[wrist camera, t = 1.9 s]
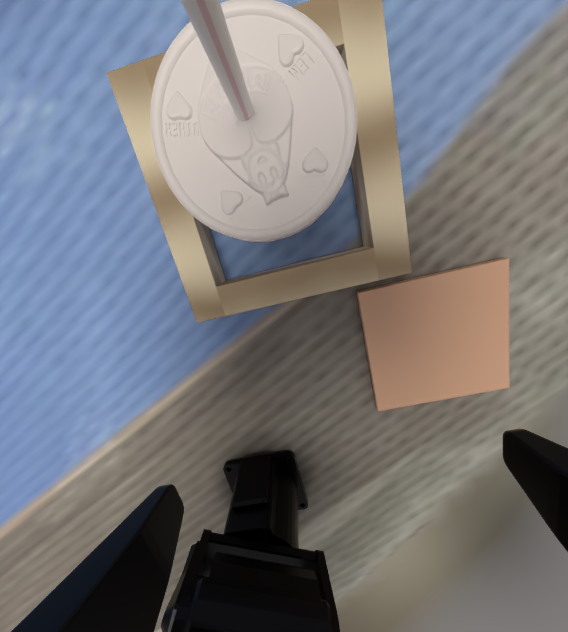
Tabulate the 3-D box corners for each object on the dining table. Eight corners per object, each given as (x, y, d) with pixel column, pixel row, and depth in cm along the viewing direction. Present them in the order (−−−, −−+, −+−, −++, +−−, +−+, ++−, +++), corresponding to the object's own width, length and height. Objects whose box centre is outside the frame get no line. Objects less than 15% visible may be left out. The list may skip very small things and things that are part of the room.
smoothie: (302, 112, 16) (353, -581, 2) (337, 216, 17) (481, 152, 4) (209, 159, 17) (-132, -152, 3) (250, 254, 18) (134, 302, 5)
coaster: (503, 383, 21) (509, 387, 20) (375, 406, 22) (378, 411, 21) (501, 257, 18) (508, 258, 17) (356, 291, 19) (357, 293, 18)
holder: (396, 267, 18) (411, 272, 16) (208, 312, 20) (197, 322, 17) (365, 19, 14) (379, -25, 12) (134, 97, 16) (106, 72, 13)
